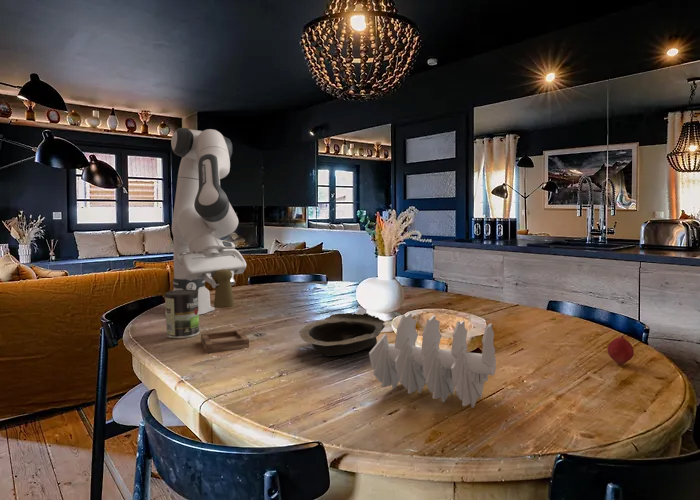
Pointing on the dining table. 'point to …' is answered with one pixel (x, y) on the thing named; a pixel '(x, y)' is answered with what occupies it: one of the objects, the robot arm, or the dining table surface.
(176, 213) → the robot arm
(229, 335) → the walnut socket block
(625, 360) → the onion
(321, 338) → the stone bowl
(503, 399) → the dining table surface
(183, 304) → the coffee can
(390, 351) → the spiral staircase
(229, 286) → the cork
